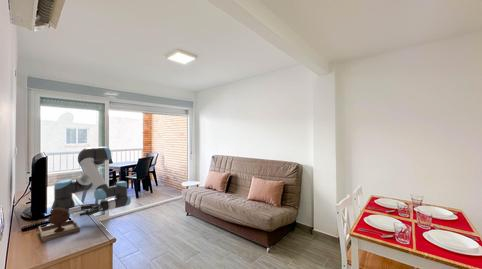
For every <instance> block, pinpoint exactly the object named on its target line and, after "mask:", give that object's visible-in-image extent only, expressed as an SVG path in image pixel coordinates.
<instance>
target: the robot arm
mask: <svg viewBox="0 0 482 269" xmlns="http://www.w3.org/2000/svg"><path fill="white" fill-rule="evenodd" d="M111 158H112V153H111V149H110V148H109V147H108V146H94V147H92V146H91V147H86V148H84V149H82V150H81V151H80V152H79V153H78V156H77V162H78V163H77V164H79V166H80V167H82V169H83V171H82V173H81V175H78V177H77V178H76V179H72V178H67V179H62V180H58V181H56V182H55V183H54V185H53V186H54V187H53V192H54V195H53V197H54V198H53V199H54V200H53V202H52V205H51V210H52V209H54V208H62V209H66V210H67V211H68V213H70V214H71V213H73V214H72V218H73V219H75V218H79V217H83V216H84V217H85V216H88V217H89V216H92V215H94V214H96V213H99V212H105V211H110V210H111V211H112V210H115V209H117V208H124V207H126V206H129V205H130V204H131V201H132V200H131V196H130V195H128V182H127V181H125V180H121V181H117V182H116V183H115V185H112V186H108V184H107V183H106V181H105V179H104V177H103V176H102V174H101V172H100V170H99V168H100V166H101V165H103V164H105V162H106V161H109V160H111ZM92 188H94V192H93V195H94V199H95V200H97V201H100V200H101V201H100V202H99V203H98V202H95V203H88V204H87V203H85V204H81V205H79V206H76V204H75V201H74V199H73V195H74V194H76V193H82V192H87V191H90V190H91V189H92ZM111 197H113V198H111ZM114 197H115V198H114ZM108 198H110V199H108ZM82 210H83V211H82Z"/></svg>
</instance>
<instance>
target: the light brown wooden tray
mask: <svg viewBox="0 0 482 269" xmlns="http://www.w3.org/2000/svg"><path fill="white" fill-rule="evenodd" d="M61 227H62V228H65V230H64V231H61V232H54V230H56V229H57V228H58V225H54V224H50V225H46V226H42V227H39V228H38V234H39V236H40V240H41V242H42V243H44V242H48V241H51V240H55V239H59V238H62V237H65V236H69V235H72V234H76V233H80V229H81V228H80V226H79V225H78V223H77V222H76V221H75V219H70V220H69V219H68V220H67V221H66V222H64V223H63V224H61Z"/></svg>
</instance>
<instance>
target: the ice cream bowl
mask: <svg viewBox="0 0 482 269" xmlns="http://www.w3.org/2000/svg"><path fill="white" fill-rule="evenodd" d="M50 215H51V216H48V222H49V224H50V225H53V224H54V225H58V228H57V229H56V230H54V232H61V231H64V230H65V228H62V227H61V224H63V223H64V222H66V221H69V219H70V217H71V212H70V213H69V210H68V209H67V210H66V209H62V208H54V209H53V210H52V209H51V210H50Z"/></svg>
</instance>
